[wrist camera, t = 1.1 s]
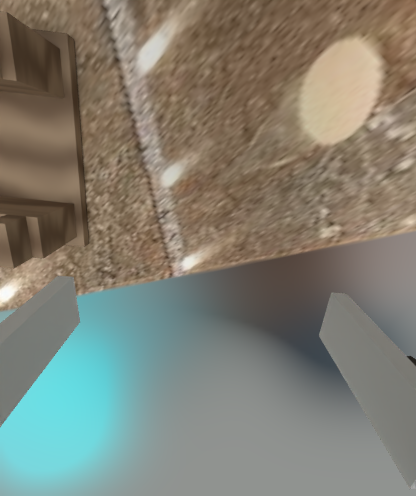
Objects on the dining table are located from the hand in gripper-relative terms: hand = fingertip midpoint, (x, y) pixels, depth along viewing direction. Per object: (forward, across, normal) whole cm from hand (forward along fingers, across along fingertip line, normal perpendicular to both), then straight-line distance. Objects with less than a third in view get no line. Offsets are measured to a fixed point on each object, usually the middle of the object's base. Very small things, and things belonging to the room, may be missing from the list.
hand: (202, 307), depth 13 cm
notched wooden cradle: (+25, -25, +6) cm, 36 cm away
